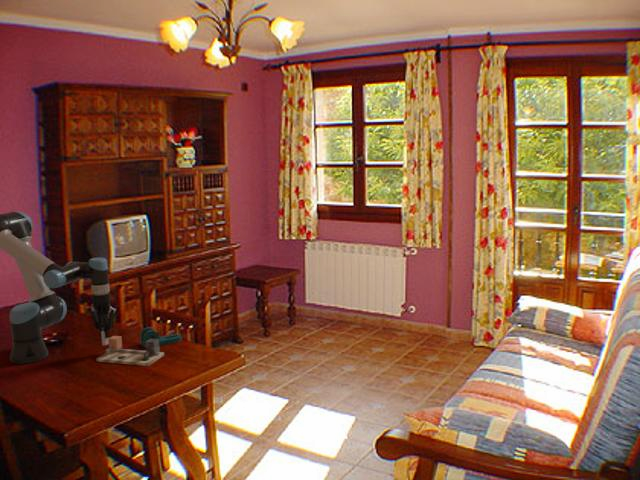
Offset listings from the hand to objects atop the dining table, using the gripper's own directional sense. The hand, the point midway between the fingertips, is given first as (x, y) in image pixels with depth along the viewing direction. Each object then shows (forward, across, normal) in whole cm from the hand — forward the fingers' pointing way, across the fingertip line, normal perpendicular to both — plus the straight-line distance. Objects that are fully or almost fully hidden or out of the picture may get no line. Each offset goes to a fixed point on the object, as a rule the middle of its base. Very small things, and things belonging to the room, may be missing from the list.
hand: (105, 344), depth 266 cm
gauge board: (+4, +14, -4) cm, 15 cm away
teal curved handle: (+5, +18, +17) cm, 25 cm away
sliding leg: (+2, +5, -3) cm, 6 cm away
